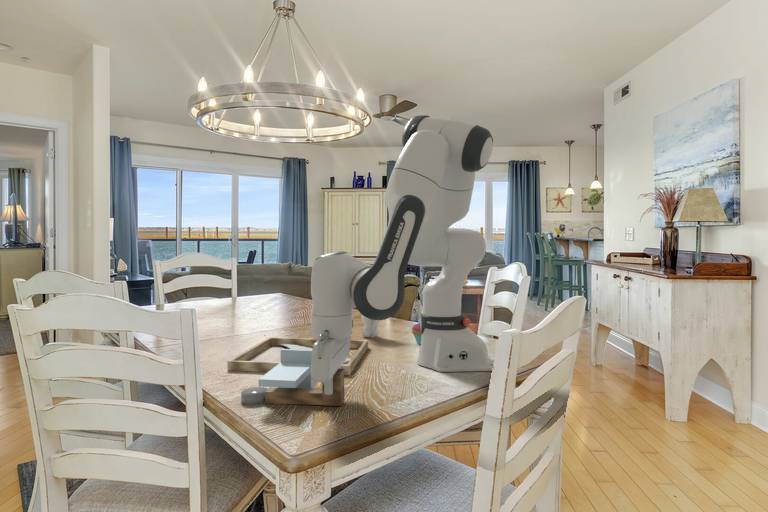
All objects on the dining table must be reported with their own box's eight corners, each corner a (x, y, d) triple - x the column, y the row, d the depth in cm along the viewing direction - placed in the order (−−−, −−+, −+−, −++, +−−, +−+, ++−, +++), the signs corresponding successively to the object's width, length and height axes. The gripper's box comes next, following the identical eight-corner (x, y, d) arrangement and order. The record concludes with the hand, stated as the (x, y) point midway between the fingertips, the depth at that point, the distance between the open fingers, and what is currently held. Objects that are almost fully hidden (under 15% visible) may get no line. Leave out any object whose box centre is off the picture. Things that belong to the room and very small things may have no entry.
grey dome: (272, 395, 103) (272, 387, 103) (263, 405, 97) (263, 396, 97) (247, 395, 103) (247, 386, 103) (236, 405, 97) (236, 395, 97)
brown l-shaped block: (344, 400, 99) (343, 368, 99) (341, 405, 95) (340, 373, 95) (270, 398, 101) (269, 367, 101) (264, 403, 97) (263, 371, 97)
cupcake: (406, 343, 154) (406, 308, 154) (422, 339, 160) (422, 306, 160) (425, 347, 148) (425, 311, 148) (441, 343, 154) (441, 308, 154)
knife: (356, 368, 125) (356, 360, 125) (333, 373, 121) (333, 364, 120) (294, 344, 154) (294, 336, 154) (273, 347, 150) (273, 340, 150)
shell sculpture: (385, 335, 166) (385, 287, 165) (373, 340, 159) (373, 289, 158) (367, 333, 170) (367, 286, 170) (354, 337, 163) (354, 288, 163)
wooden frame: (368, 347, 148) (368, 340, 148) (349, 375, 118) (349, 365, 118) (269, 344, 152) (269, 337, 152) (227, 370, 122) (227, 361, 122)
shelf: (314, 389, 107) (314, 349, 106) (295, 411, 93) (295, 366, 93) (282, 387, 108) (282, 348, 107) (258, 409, 94) (258, 365, 94)
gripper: (334, 337, 86) (335, 408, 87) (354, 318, 106) (355, 376, 107) (302, 336, 87) (303, 406, 87) (328, 318, 107) (329, 375, 108)
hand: (332, 389), depth 97 cm, fingers closed on brown l-shaped block, 3 cm apart
